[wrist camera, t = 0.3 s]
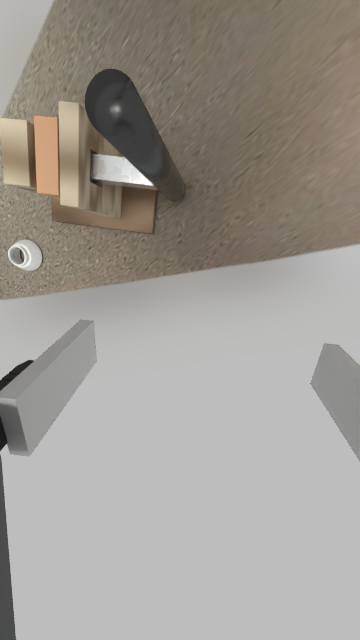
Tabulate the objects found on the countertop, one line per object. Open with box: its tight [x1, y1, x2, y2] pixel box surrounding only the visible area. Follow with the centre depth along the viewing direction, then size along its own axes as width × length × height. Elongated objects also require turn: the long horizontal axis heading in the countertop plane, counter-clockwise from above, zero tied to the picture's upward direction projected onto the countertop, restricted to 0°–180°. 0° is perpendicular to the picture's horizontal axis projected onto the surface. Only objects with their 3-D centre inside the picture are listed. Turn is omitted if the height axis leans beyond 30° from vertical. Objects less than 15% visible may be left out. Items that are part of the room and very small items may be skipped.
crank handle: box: [85, 69, 185, 201], centre depth 24 cm, size 3×18×21 cm, turn 83°
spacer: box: [34, 116, 60, 199], centre depth 29 cm, size 7×2×7 cm, turn 173°
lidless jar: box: [8, 240, 42, 271], centre depth 41 cm, size 5×3×5 cm
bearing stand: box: [0, 101, 157, 234], centre depth 31 cm, size 12×16×13 cm
